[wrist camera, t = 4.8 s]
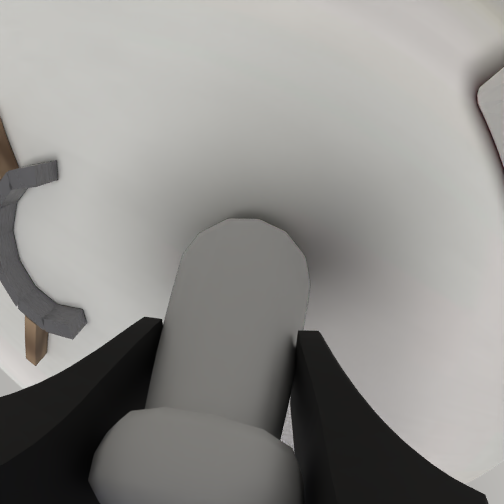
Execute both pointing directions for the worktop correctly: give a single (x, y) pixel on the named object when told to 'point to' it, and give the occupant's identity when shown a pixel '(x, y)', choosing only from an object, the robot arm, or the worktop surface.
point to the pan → (494, 108)
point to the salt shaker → (217, 380)
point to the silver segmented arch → (8, 263)
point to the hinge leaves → (35, 337)
